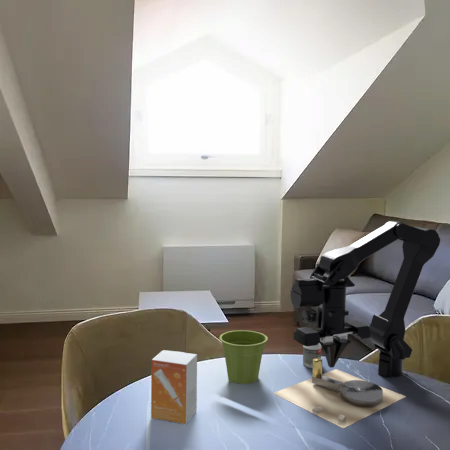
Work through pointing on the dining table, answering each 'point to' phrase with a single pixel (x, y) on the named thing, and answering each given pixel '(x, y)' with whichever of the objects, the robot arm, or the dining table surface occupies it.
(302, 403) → the stand board
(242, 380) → the plant pot
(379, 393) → the lever
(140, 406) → the dining table surface
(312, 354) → the pill bottle
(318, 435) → the dining table surface
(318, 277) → the robot arm
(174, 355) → the small box
